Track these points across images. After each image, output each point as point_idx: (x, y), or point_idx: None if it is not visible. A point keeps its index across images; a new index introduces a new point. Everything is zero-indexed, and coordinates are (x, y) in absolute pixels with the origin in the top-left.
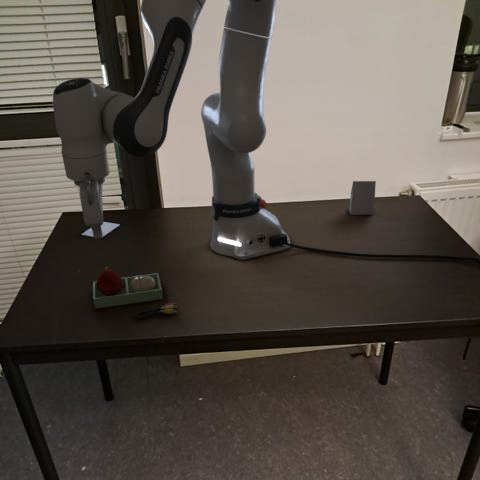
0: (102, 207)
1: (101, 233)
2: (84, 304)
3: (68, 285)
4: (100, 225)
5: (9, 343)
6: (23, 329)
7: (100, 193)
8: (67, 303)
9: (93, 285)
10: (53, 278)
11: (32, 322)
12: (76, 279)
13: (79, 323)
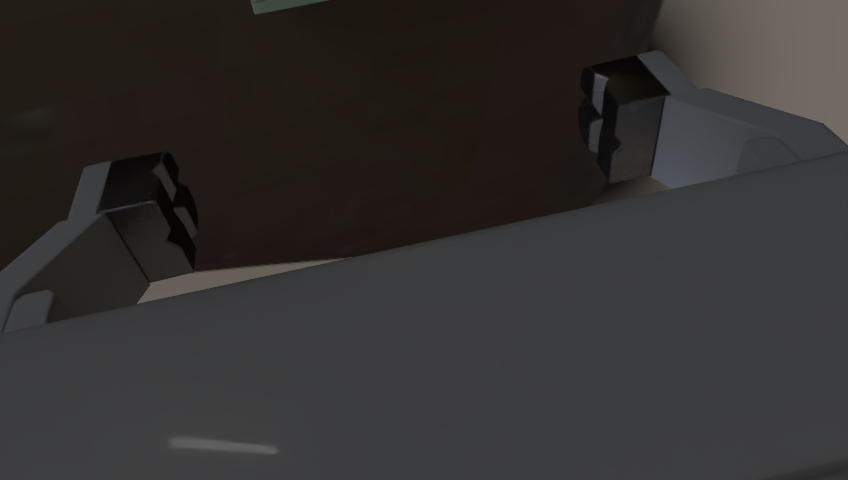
0: (695, 241)
1: (679, 73)
2: (381, 16)
3: (199, 129)
4: (812, 124)
5: None
6: (521, 194)
7: (552, 465)
8: (364, 95)
9: (300, 3)
10: None
11: (484, 180)
12: (133, 108)
13: (539, 5)
